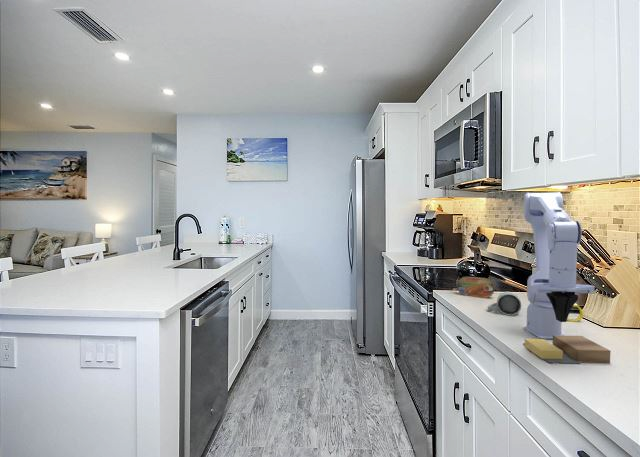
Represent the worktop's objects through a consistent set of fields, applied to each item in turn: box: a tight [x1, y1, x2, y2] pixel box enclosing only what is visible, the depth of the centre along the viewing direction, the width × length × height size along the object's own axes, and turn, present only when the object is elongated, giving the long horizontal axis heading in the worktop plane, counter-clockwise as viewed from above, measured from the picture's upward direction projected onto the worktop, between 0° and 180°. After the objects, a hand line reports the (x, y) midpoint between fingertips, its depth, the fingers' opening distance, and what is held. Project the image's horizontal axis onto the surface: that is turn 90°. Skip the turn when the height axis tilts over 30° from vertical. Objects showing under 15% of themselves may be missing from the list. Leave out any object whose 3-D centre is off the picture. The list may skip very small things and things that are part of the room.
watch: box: [566, 302, 584, 322], centre depth 115 cm, size 6×3×6 cm, turn 74°
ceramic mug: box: [486, 291, 522, 317], centre depth 125 cm, size 11×8×8 cm
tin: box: [456, 276, 496, 299], centre depth 149 cm, size 15×3×8 cm, turn 55°
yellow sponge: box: [524, 338, 563, 360], centre depth 89 cm, size 8×5×2 cm, turn 176°
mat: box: [522, 342, 581, 365], centre depth 89 cm, size 12×7×1 cm, turn 176°
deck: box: [552, 335, 612, 364], centre depth 88 cm, size 10×8×3 cm
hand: (561, 320), depth 88 cm, fingers closed
